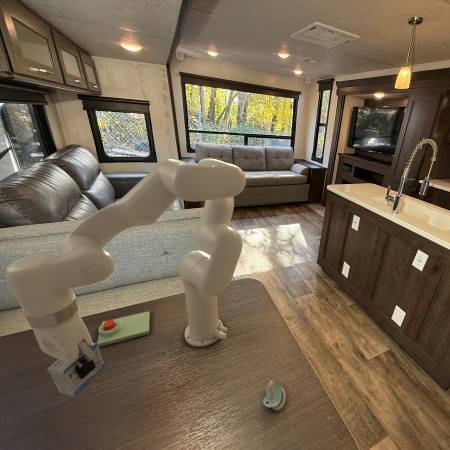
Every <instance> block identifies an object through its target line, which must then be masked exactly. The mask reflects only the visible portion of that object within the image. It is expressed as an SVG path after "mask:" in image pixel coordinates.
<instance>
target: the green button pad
mask: <svg viewBox="0 0 450 450" xmlns="http://www.w3.org/2000/svg"><path fill="white" fill-rule="evenodd" d="M150 317H151V312H150V311H144V312H139V313H135V314H131V315H126V316H123V317H122V316H121V317H119V318H114V319H112V320H114V321H115V327H114V328H113V329H111V330H107V331H106V330H104V326H103V324H104V323H105V322H106V321H107V320H104V321H102V322H101V325H100V326H98V329H97V330H98V337H97V341H96V343H97V345H98V348H101V347H104V346H108V345H112V344H116V343H119V342H123V341H127V340H131V339H135V338H138V337H142V336H146V335H149V334H150V323H151V322H150Z"/></svg>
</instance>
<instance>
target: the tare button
mask: <svg viewBox="0 0 450 450" xmlns="http://www.w3.org/2000/svg"><path fill="white" fill-rule="evenodd" d="M105 321H106V322H105ZM105 321H104V322H105V323H104V324H103V326H104V330H106V331H107V330H111V329H113V328H114V327H115V321H114V320H113V319H108V320H105Z"/></svg>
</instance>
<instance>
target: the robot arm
mask: <svg viewBox="0 0 450 450" xmlns="http://www.w3.org/2000/svg"><path fill="white" fill-rule="evenodd" d="M246 183H247V178H246V174H245V172H244V170H243V169H242V168H241V167H239V166H237V165H235V164H232V163H228V162H224V161H222V160H218V159H214V158H209V157H208V158H203V159H200V160H199V161H198V162H197V164H191V163H189V162H186V161H183V160H180V159H175V158H167V159H164V160H162V161H160V162H159V163H158V164H157V165H156V166H155V167H153V168H152V169H151V170H150V171H149V172H148V173H147V174H146V175H145V176H144V177H143V178H142V179H141V180H140V181H138V182H137V183H136V184H135V185H134V186H133V188H131V189H130V190H129V191H128V192H127V193H126V194H125V195H123V196H122V197H121V198H120V199H119V200H117V201H114V202H112V203H110V204H108V205H106V206H105V207H103V208H101V209H98V210H97V211H96V212H93V213H92V214H90V215H89V216H88V217H86V218H85V219H84V220H83V221H81V223H79V224H78V225H77V226H76V227H75V228H74V229H73V230H71V232H69V233H68V234H67V235H66V237H65V238H63V240H62V241H61V243H60V244H59V247H58V249H57V255H58V256H57V255H55V254H53V253H36V254H31V255H28V256H27V255H26V256H23V257H21V258H19V259H17V260H14V261H13V262H11V263H10V264H9V265H7V266H6V269H5V270H4V276H5V278H6V281H7V282H8V284H9V286H10V289H11V291H12V292H13V294H14V296H15V298H16V300H17V302H18V304H19V306H20V309H21V310H22V312H23V314H24V316H25V318H26V320H27V322H28V324H29V327H31V329H32V331H33V334H34V337H35V340H36V342H37V344H38V346H39V349H40V350H41V351H42V352H43V353H44V354H46V355H48V356H50V357H52V358H55V359H56V361H57V360H58V359H59V360H61V361H63V362H66V363H73V362H74V363H75V364H76V367H75V369H76V371H77V374H78V376H79V378H80V379H83V378H84V377H86V376H87V375H88V374H89V373H90V372H91V371H93V370H94V369H95V367H96V366H95V364H94V361H93V359H94V358H95V357H96V354H95V353H94V352H93V351H92V350H91V348H92V347H93V343H94V342H93V339H92V337H91V334H90V332H89V330H88V328H87V326H86V324H85V322H84V320H83V319H82V317H81V315H80V313H79V312H80V305H79V303H78V301H77V297H76V296H75V295H76V294H75V293H74V290H73V288H80V287H83V286H89V285H93V284H96V283H100V282H102V281H104V280H106V279H107V278H109V277H110V276H111V275H112V274H113V273H114V271H115V267H116V263H115V260H114V258H113V256H112V255H111V254H110V253H109V252H108V251H107V249H106V248H105V247H106V246H107V244H109V243H110V242H111V241H112V240H113V239H114V238H115V237H116V236H117V235H119V234H121V233H122V232H123V231H125V230H127V229H131V228H134V227H135V228H136V227H143V226H150V225H153V224H155V223H156V222H157V221H158V220H159V219H160V218H161V217H162V216H163V215H164V214H165V212H166V211H167V210H168V209H170V207H171V206H172V205H173V204H174V203H175V202H176V201H177V200H179V199H181V200H183V201H186V202H204V205H203V209H202V212H201V215H200V218H199V220H198V224H197V227H196V229H195V233H194V242H195V244H196V245H197V246H198V247H199V248H201V249H202V250H203V251H202V250H191V251H188V252H186V253H185V255H184V256H182V258H181V259H180V262H179V267H178V269H179V275H180V279H181V283H182V287H183V289H184V296H185V305H186V314H187V322H188V325H187V327H186V328H185V331H184V339H185V341H186V343H187V344H188V345H190V346H192V347H199V348H200V347H201V348H202V347H207V346H210V345H212V344H213V343H215V342H217V341H218V340H219V339H220V340H224V341H225V340H226V338H227V335H228V334H227V331H228V328H227V327H225V326H224V324H223V322H222V320H220V319H219V310H218V296H220V295H222V294H223V293H224V292H225V291H226V290H227V289H228V288H229V286H230V284H231V283H232V282H231V281H232V279H233V278H234V274H235V272H236V269H237V267H238V264H239V260H240V258H241V254H242V250H243V238H242V235H241V234H240V232H238V231H237V230H236V229H234V228H232V227H230V223H231V220H232V216H233V213H234V210H235V209H234V208H235V199H234V198H235V197H236V196H238V195H240V194H241V193H242V192H243V191H244V189H245V187H246ZM82 354H83V355H84V356H85V357H84V358H83V359H82V360H81V361H80V360H79V359H78V357H79V356H81V355H82Z"/></svg>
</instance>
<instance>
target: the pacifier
mask: <svg viewBox="0 0 450 450" xmlns="http://www.w3.org/2000/svg"><path fill="white" fill-rule="evenodd" d="M265 393H266V395H265V396H264V398H263V400H262V405H263V406H264V407H266V408H270V409H273V410H274V411H280V410H281V409H283V408H284V406H285V403H286V400H287V393H286V390H285V388H284V387H283V386H282V385H281V383H280V382H279V381H278V380H276V379H271V380H269V381H268V382H267V383H266V387H265Z"/></svg>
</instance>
